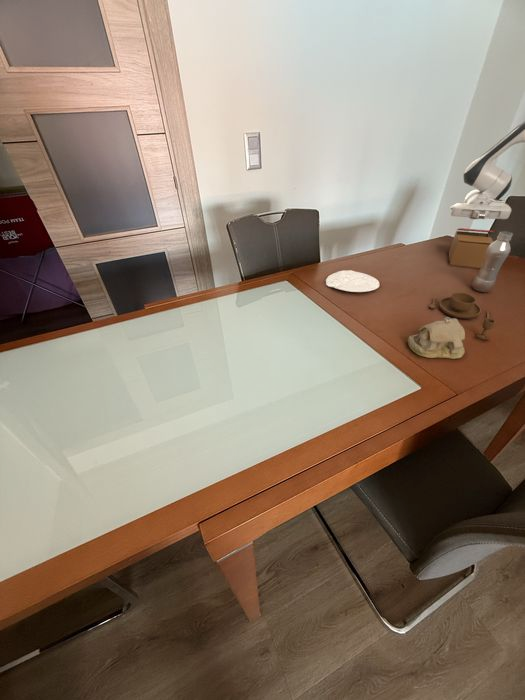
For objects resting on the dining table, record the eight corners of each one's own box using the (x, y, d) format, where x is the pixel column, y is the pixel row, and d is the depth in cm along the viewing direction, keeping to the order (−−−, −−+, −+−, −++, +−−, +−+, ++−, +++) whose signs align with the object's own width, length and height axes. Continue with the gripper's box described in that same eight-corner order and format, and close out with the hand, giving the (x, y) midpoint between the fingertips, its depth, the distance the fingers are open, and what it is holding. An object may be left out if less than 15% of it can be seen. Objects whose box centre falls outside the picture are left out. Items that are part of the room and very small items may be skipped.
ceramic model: (445, 333, 90) (458, 304, 84) (471, 357, 81) (487, 327, 75) (401, 339, 89) (410, 310, 82) (422, 364, 80) (434, 334, 74)
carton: (448, 252, 135) (456, 229, 129) (479, 255, 131) (489, 231, 125) (449, 264, 125) (458, 240, 119) (482, 268, 122) (493, 243, 115)
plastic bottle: (472, 293, 107) (498, 236, 94) (467, 284, 112) (491, 229, 99) (493, 295, 105) (522, 237, 93) (487, 286, 110) (513, 230, 98)
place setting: (490, 308, 99) (498, 292, 95) (489, 341, 86) (498, 324, 82) (432, 296, 106) (437, 281, 103) (422, 325, 93) (428, 309, 90)
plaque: (357, 300, 106) (358, 296, 105) (315, 282, 118) (315, 279, 117) (389, 283, 116) (390, 279, 115) (347, 268, 128) (348, 265, 127)
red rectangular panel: (456, 230, 129) (457, 229, 129) (488, 232, 125) (489, 231, 125) (459, 229, 123) (460, 228, 123) (493, 231, 119) (493, 230, 119)
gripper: (452, 198, 129) (454, 206, 119) (509, 200, 122) (516, 209, 112) (447, 213, 133) (449, 223, 123) (502, 216, 126) (508, 227, 116)
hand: (481, 216), depth 118 cm, fingers closed
